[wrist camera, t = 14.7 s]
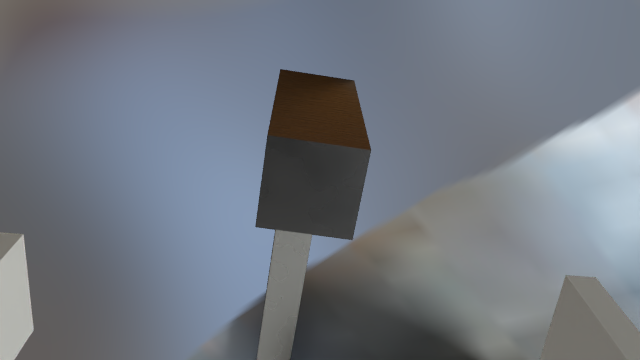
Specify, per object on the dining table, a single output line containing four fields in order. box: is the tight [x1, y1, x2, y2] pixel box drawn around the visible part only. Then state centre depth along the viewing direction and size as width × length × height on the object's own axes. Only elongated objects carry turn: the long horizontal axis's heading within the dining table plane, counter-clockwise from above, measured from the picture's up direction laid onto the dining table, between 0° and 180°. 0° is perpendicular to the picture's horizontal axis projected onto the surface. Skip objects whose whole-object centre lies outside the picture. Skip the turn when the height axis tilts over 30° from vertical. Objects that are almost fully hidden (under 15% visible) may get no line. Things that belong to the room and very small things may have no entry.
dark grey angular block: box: [256, 69, 371, 360], centre depth 29 cm, size 13×24×9 cm, turn 171°
